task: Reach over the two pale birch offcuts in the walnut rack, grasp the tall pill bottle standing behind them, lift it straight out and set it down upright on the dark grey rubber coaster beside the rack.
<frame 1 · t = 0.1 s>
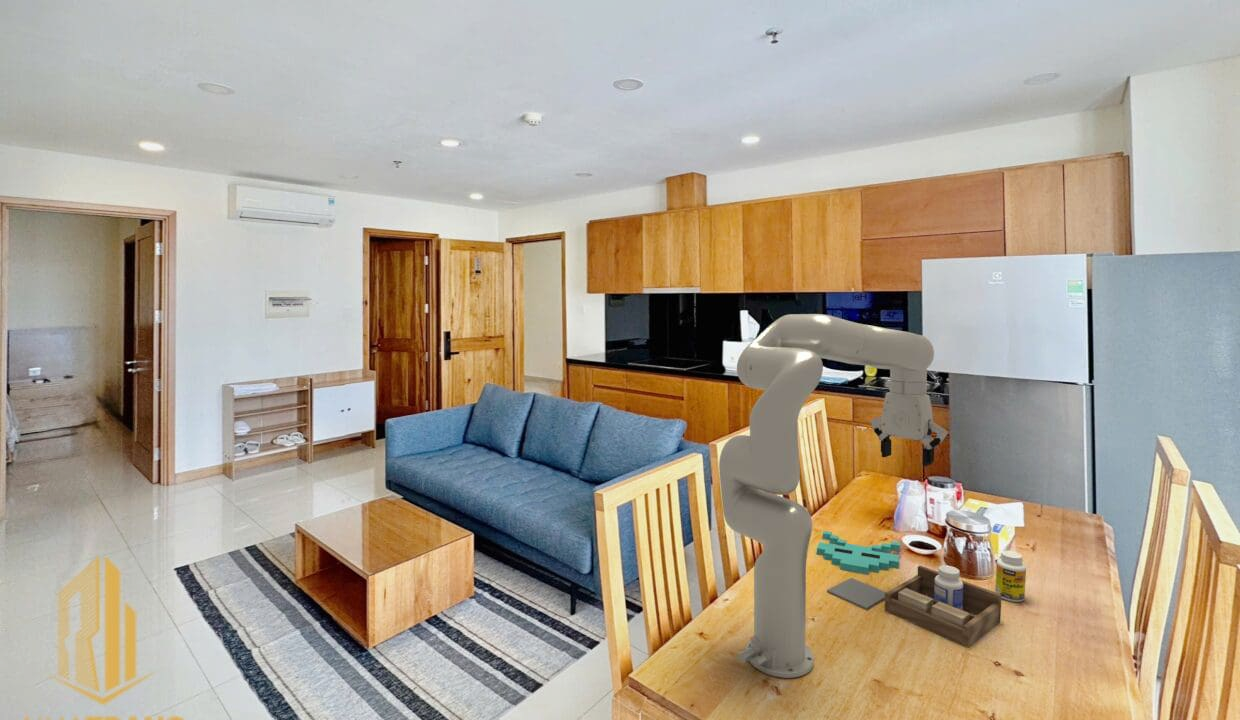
hand: (906, 460, 130), 31 cm above the table, tool pointing down, fingers open, 9 cm apart
supplement bottle: (1009, 597, 128), on the table
offcut b: (949, 630, 116), resting in walnut rack
offcut a: (915, 615, 121), resting in walnut rack
rubber coaster: (858, 593, 131), on the table
pill bottle: (947, 612, 123), resting in walnut rack
walnut rack: (941, 615, 121), on the table
alien figure: (857, 558, 150), on the table
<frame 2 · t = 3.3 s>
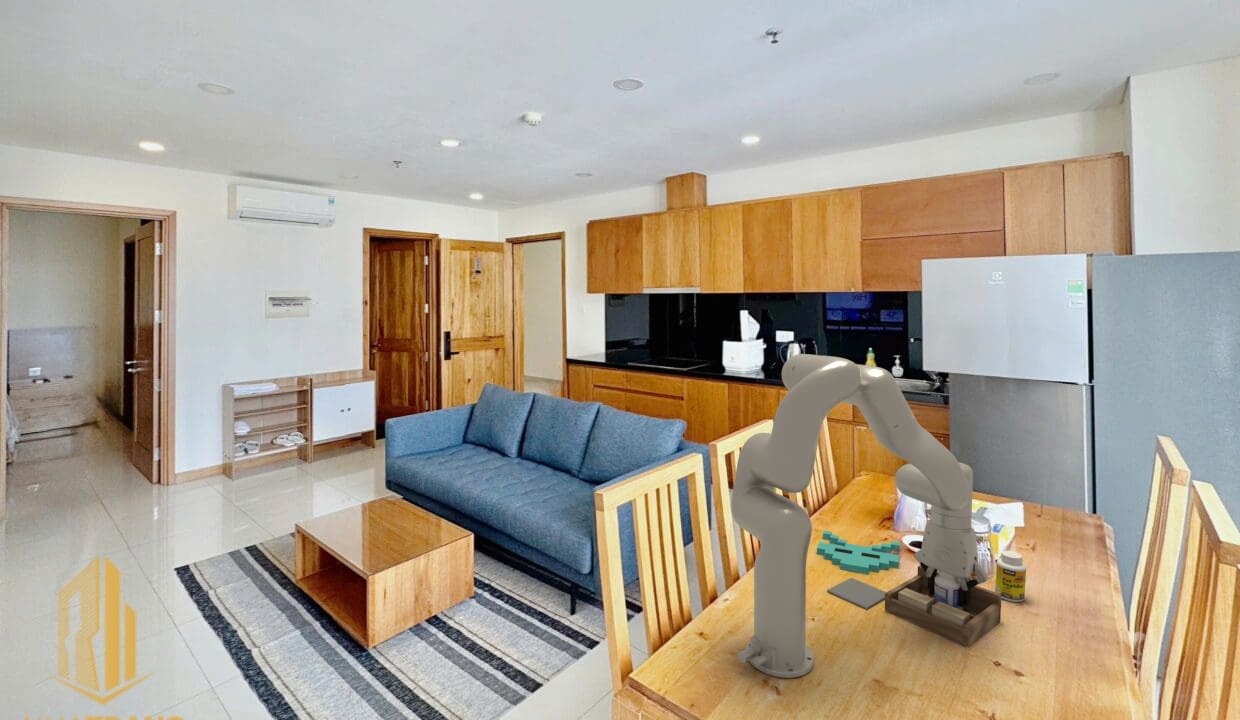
hand: (948, 598, 122), 3 cm above the table, tool pointing down, fingers closed on pill bottle, 5 cm apart
pill bottle: (947, 612, 123), resting in walnut rack, touching gripper
everything else where it was.
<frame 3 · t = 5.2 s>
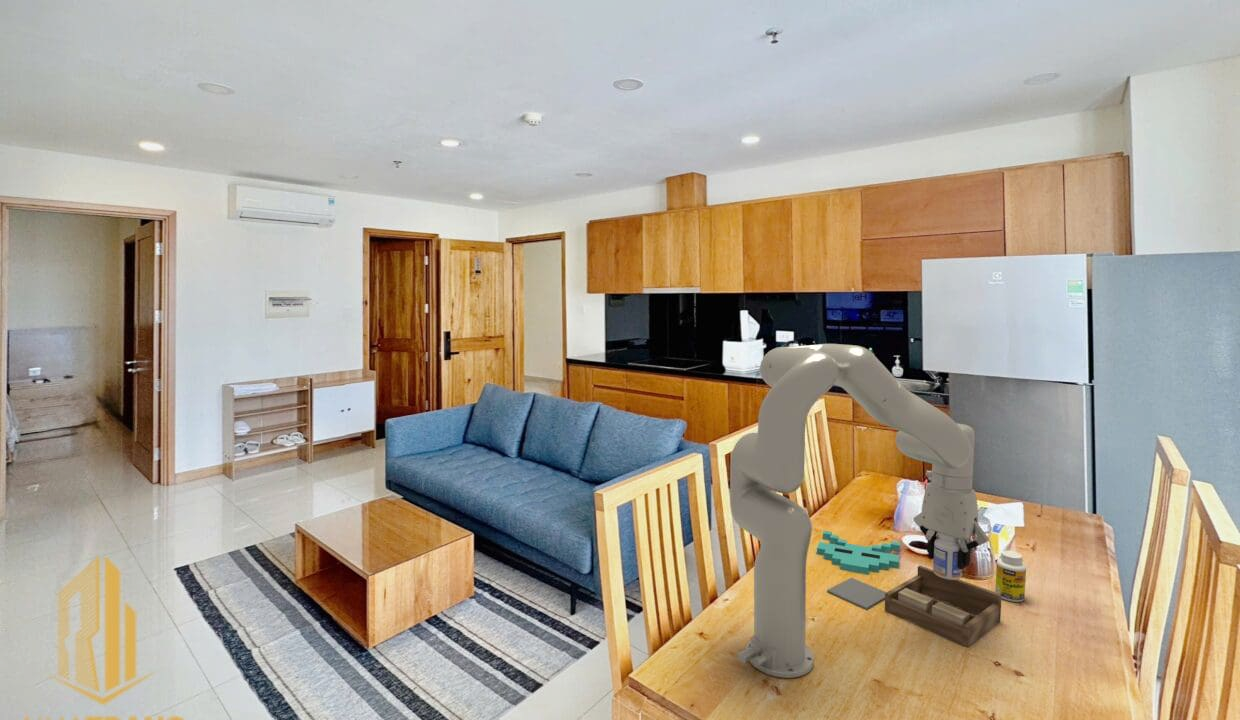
hand: (947, 561, 121), 12 cm above the table, tool pointing down, fingers closed on pill bottle, 5 cm apart
pill bottle: (947, 575, 122), point 8 cm above the table, touching gripper
everything else where it was.
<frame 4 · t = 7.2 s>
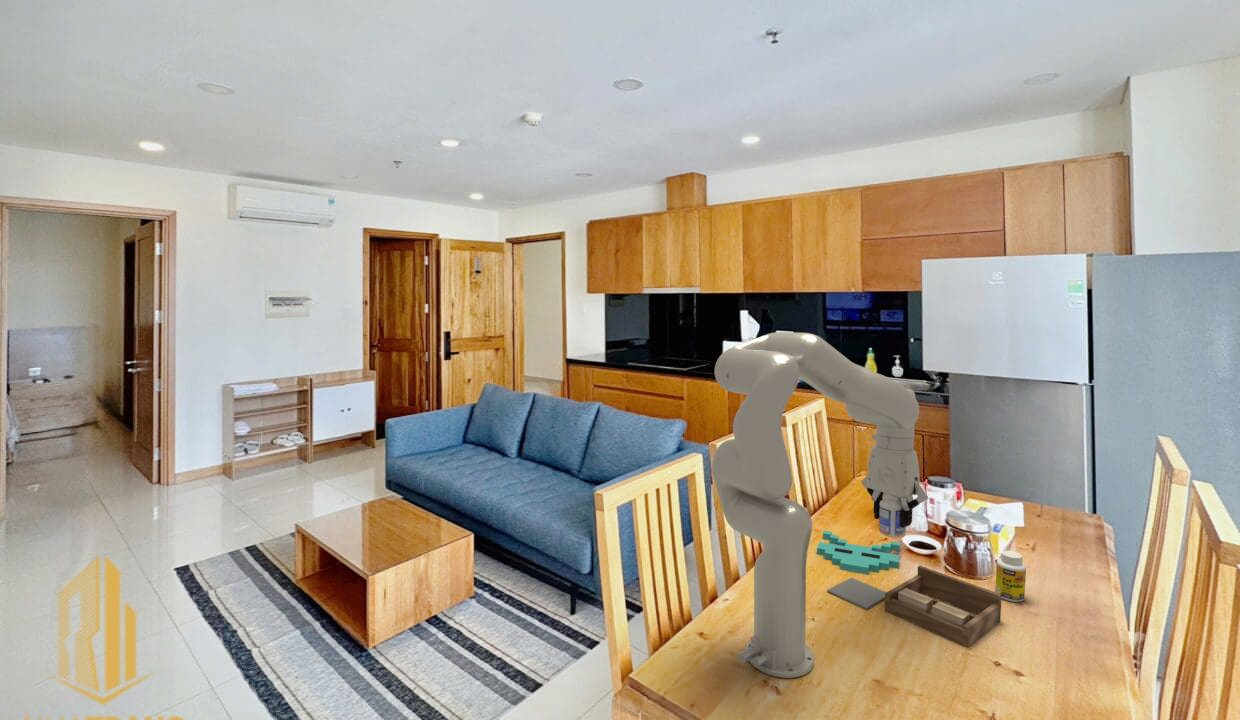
hand: (892, 521, 126), 19 cm above the table, tool pointing down, fingers closed on pill bottle, 5 cm apart
pill bottle: (891, 534, 126), point 16 cm above the table, touching gripper
everything else where it was.
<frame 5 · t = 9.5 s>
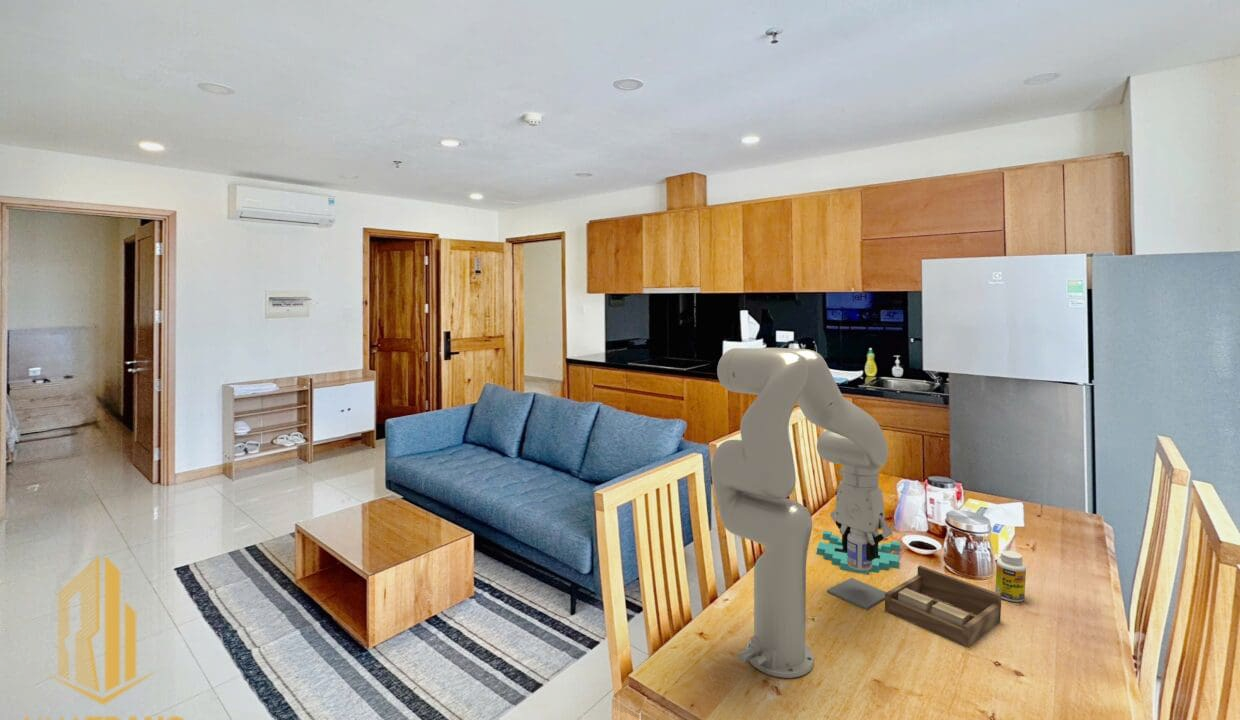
hand: (859, 553, 130), 10 cm above the table, tool pointing down, fingers closed on pill bottle, 5 cm apart
pill bottle: (859, 566, 130), point 7 cm above the table, touching gripper
everything else where it was.
when the fingers open (4 cm above the table, at t = 11.4 s): pill bottle stays where it is, resting on rubber coaster.
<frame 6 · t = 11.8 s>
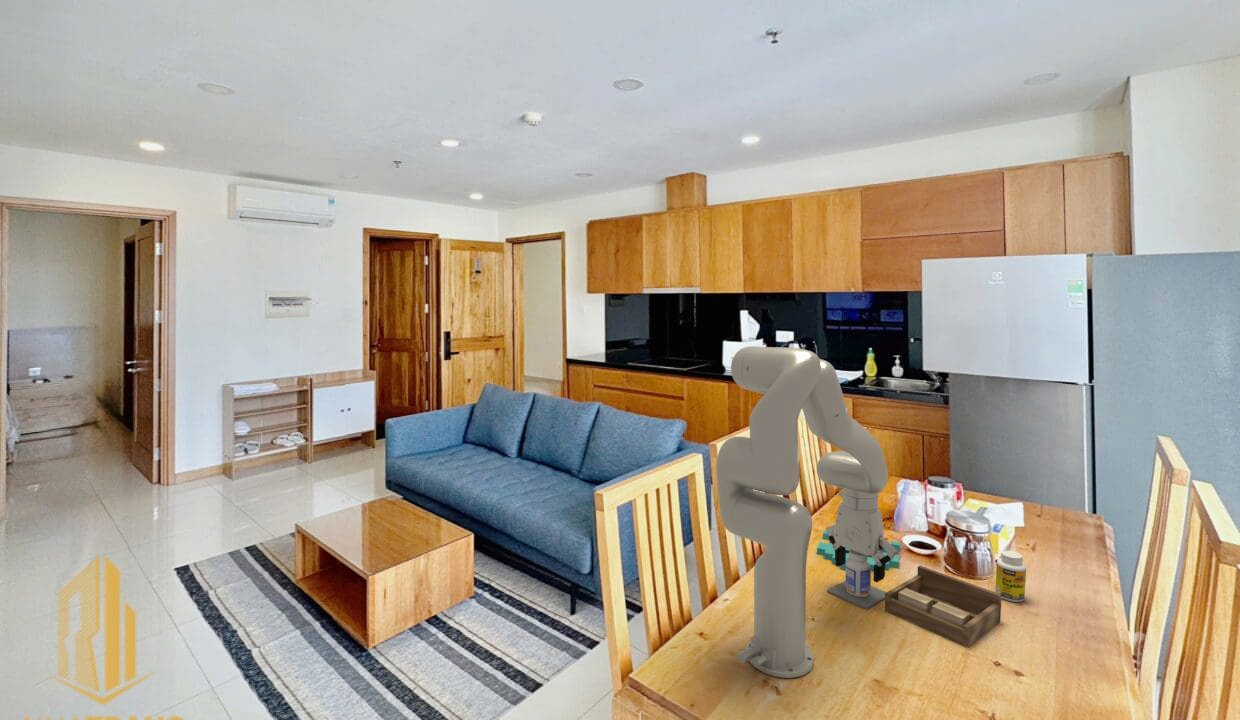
hand: (859, 572, 130), 5 cm above the table, tool pointing down, fingers open, 9 cm apart
pill bottle: (857, 592, 131), resting on rubber coaster
everything else where it was.
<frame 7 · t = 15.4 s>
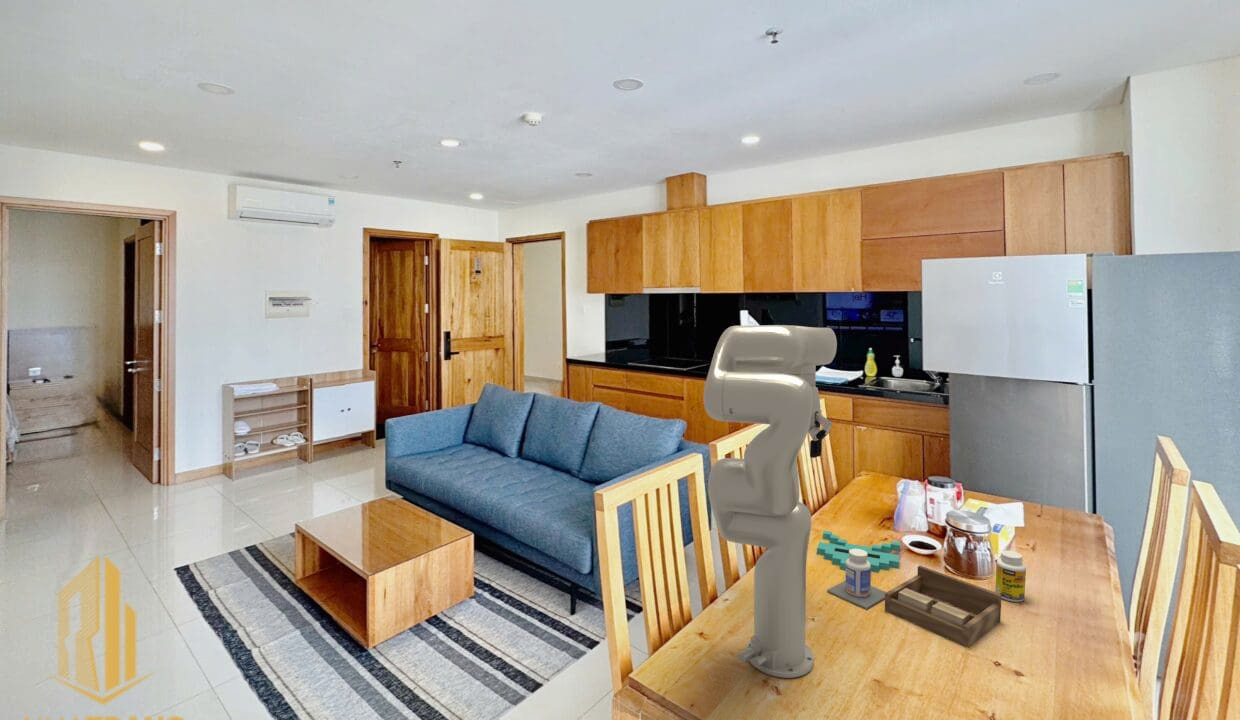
hand: (797, 452, 131), 33 cm above the table, tool pointing down, fingers open, 9 cm apart
nothing on the table moved.
at the end: pill bottle 0.2 cm off-centre on the rubber coaster, point 0.3 cm above the rubber coaster's base; pill bottle tilted 0°; offcut b moved 0.1 cm from its start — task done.
